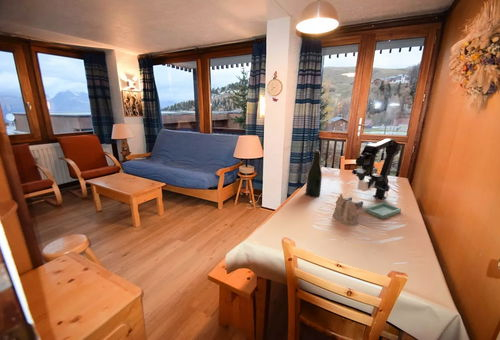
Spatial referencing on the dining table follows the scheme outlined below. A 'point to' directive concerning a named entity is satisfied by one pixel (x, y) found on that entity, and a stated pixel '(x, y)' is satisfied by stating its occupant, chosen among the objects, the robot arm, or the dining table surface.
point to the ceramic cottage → (346, 212)
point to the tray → (382, 210)
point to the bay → (354, 202)
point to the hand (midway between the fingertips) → (364, 187)
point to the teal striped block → (364, 185)
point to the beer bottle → (314, 176)
